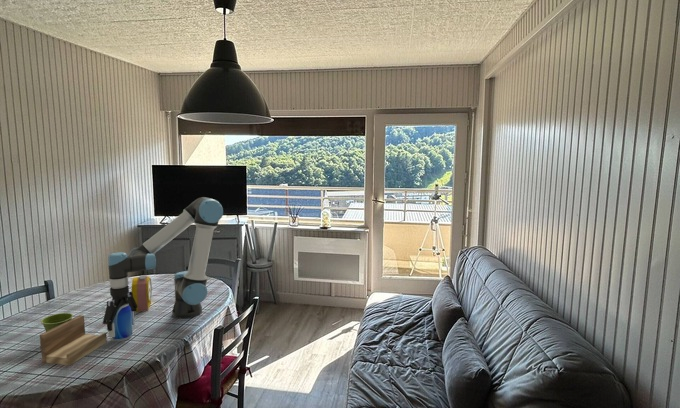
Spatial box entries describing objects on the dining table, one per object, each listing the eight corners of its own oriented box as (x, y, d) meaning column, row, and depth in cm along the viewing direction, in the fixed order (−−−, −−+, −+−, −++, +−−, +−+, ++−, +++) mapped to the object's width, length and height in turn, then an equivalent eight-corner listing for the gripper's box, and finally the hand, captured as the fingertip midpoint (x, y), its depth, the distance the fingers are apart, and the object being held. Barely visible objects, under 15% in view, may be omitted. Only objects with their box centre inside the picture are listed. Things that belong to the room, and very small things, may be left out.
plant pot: (39, 349, 167) (37, 325, 166) (47, 338, 178) (45, 315, 177) (71, 344, 172) (69, 321, 170) (77, 333, 183) (75, 311, 181)
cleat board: (106, 342, 174) (105, 317, 173) (69, 365, 155) (67, 337, 153) (81, 339, 176) (80, 315, 175) (42, 362, 157) (39, 334, 155)
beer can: (123, 343, 174) (121, 309, 172) (107, 341, 176) (105, 307, 174) (136, 334, 182) (134, 302, 180) (121, 333, 184) (119, 301, 182)
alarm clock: (149, 311, 210) (147, 279, 208) (132, 313, 207) (130, 280, 205) (152, 301, 224) (151, 271, 222) (136, 303, 221) (135, 272, 219)
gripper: (130, 277, 188) (132, 319, 191) (91, 294, 164) (94, 342, 167) (144, 278, 187) (146, 320, 190) (106, 295, 163) (109, 343, 166)
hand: (122, 330), depth 178 cm, fingers open, 12 cm apart
